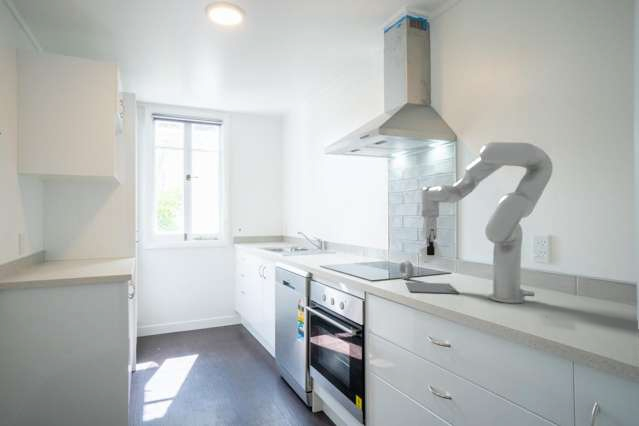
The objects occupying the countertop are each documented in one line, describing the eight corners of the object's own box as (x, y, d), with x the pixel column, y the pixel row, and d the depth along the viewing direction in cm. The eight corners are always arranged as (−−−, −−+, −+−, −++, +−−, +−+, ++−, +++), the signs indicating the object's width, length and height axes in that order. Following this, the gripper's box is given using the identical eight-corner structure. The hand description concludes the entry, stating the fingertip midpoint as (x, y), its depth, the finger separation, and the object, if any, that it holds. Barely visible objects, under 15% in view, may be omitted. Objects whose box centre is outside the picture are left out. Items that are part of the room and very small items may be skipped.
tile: (441, 256, 166) (435, 241, 166) (442, 256, 164) (436, 242, 164) (424, 262, 167) (418, 248, 167) (425, 263, 165) (419, 248, 165)
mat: (449, 284, 172) (449, 283, 172) (459, 294, 152) (459, 292, 152) (405, 283, 175) (405, 282, 175) (410, 292, 155) (410, 291, 155)
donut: (396, 278, 189) (396, 258, 189) (402, 277, 191) (402, 258, 191) (409, 281, 180) (409, 261, 180) (415, 280, 182) (415, 260, 182)
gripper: (419, 214, 174) (419, 252, 174) (424, 214, 158) (424, 256, 158) (436, 214, 173) (435, 253, 173) (442, 214, 157) (442, 257, 157)
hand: (430, 254), depth 165 cm, fingers closed on tile, 1 cm apart
